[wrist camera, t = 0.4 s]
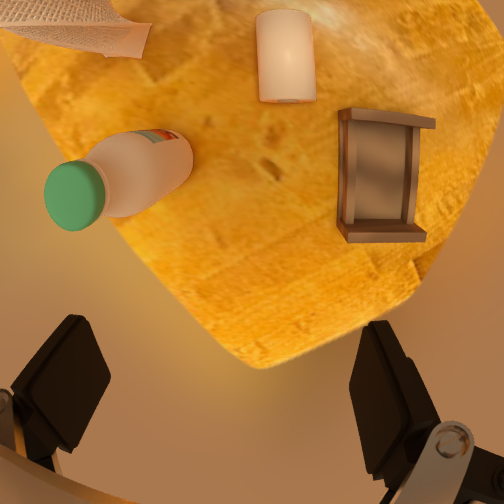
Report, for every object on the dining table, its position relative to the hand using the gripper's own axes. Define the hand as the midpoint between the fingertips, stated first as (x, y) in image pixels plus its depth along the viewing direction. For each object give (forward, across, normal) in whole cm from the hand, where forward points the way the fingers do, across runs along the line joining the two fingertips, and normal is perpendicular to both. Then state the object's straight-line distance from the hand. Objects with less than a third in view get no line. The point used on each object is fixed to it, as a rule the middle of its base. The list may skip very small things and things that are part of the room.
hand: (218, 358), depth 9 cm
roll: (+28, -4, -15) cm, 32 cm away
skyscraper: (+28, +15, -21) cm, 38 cm away
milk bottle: (+28, +11, -4) cm, 31 cm away
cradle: (+28, -15, -2) cm, 32 cm away
